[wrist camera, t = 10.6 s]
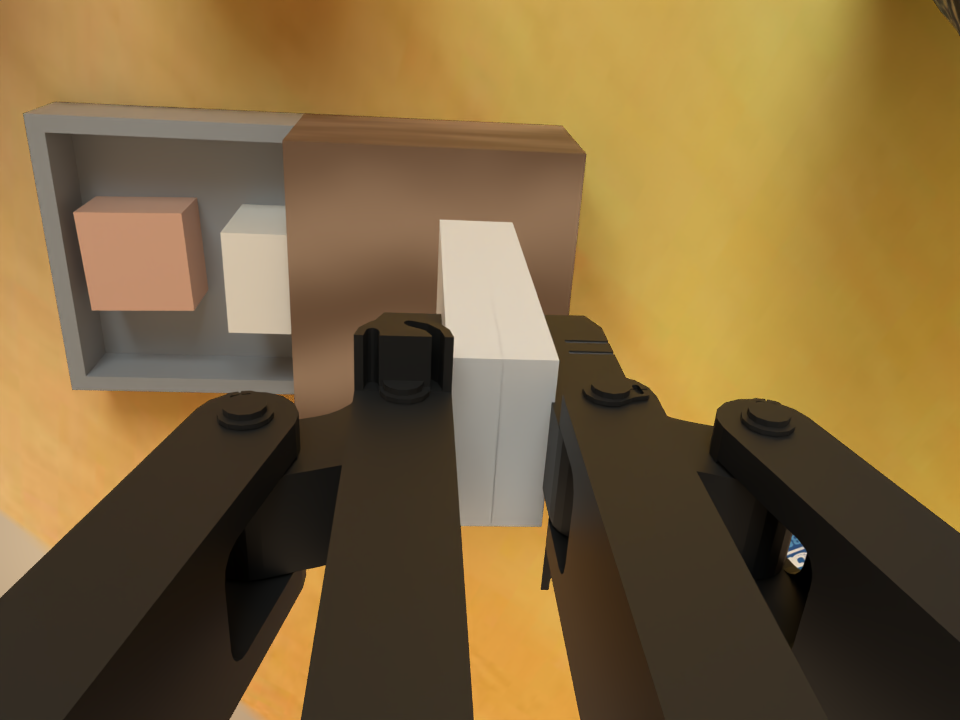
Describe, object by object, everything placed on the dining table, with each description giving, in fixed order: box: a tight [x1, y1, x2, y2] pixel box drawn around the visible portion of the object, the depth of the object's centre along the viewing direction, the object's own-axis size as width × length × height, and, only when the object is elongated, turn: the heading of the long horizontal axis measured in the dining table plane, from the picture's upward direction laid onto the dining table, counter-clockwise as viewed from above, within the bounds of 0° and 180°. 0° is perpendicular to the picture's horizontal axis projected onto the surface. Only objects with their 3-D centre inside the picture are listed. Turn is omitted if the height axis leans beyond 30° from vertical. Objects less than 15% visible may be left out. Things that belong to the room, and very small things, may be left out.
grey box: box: [23, 102, 304, 394], centre depth 42 cm, size 14×12×4 cm
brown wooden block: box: [282, 114, 586, 419], centre depth 41 cm, size 14×13×7 cm
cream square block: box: [220, 204, 291, 334], centre depth 41 cm, size 5×5×3 cm
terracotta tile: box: [73, 196, 208, 311], centre depth 41 cm, size 5×5×3 cm
